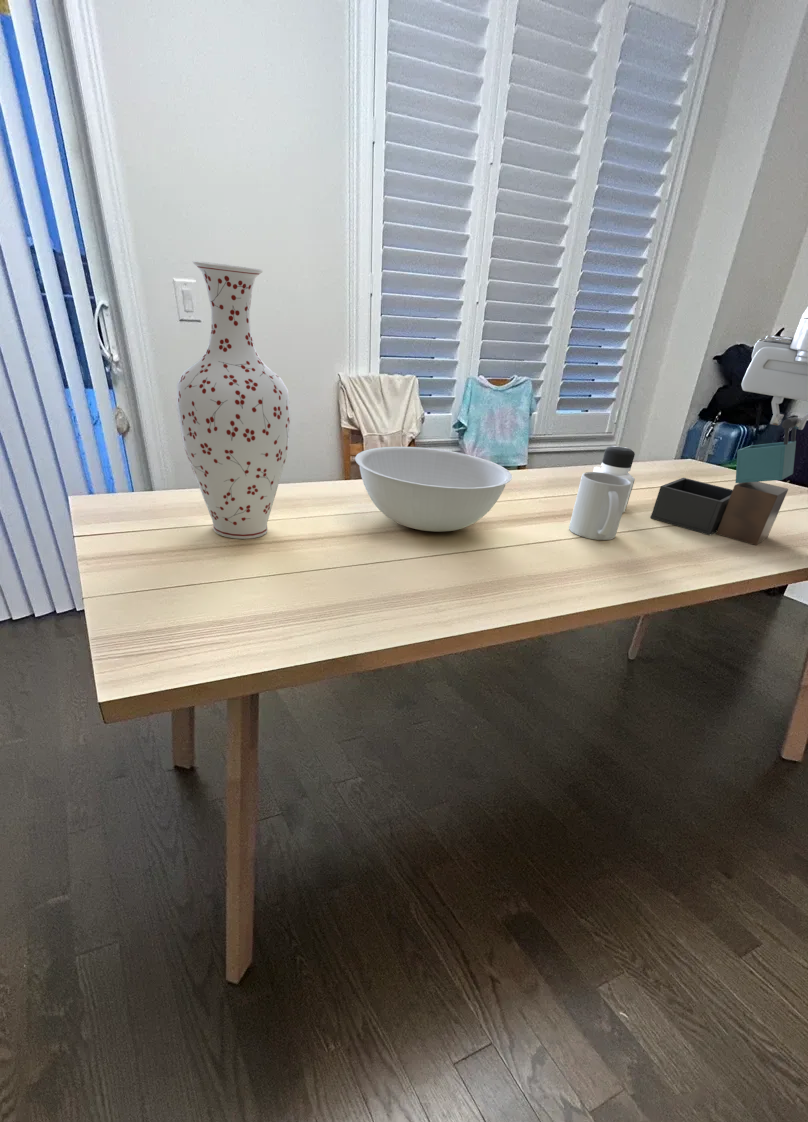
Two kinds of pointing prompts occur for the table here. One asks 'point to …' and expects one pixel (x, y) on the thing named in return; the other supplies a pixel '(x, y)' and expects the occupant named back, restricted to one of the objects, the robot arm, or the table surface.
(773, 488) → the stand
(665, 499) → the basket
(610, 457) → the medicine bottle
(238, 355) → the vase
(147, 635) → the table surface
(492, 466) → the bowl
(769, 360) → the robot arm
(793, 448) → the box
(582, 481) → the mug
